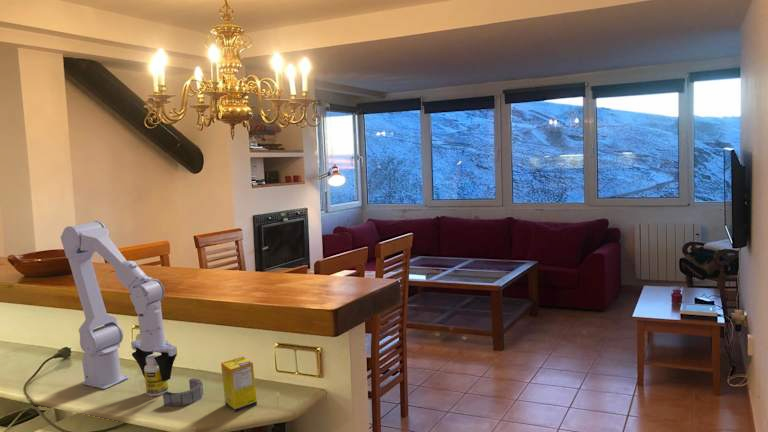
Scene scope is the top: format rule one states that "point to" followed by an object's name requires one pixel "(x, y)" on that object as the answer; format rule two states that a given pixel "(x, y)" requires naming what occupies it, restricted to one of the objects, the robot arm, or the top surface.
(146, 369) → the supplement bottle
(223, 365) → the supplement box
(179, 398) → the steel horseshoe collar
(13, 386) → the top surface
